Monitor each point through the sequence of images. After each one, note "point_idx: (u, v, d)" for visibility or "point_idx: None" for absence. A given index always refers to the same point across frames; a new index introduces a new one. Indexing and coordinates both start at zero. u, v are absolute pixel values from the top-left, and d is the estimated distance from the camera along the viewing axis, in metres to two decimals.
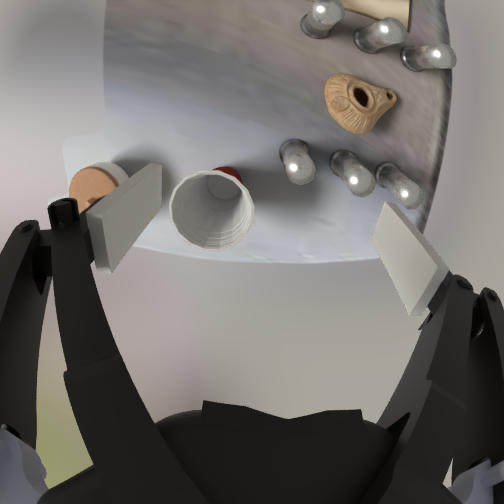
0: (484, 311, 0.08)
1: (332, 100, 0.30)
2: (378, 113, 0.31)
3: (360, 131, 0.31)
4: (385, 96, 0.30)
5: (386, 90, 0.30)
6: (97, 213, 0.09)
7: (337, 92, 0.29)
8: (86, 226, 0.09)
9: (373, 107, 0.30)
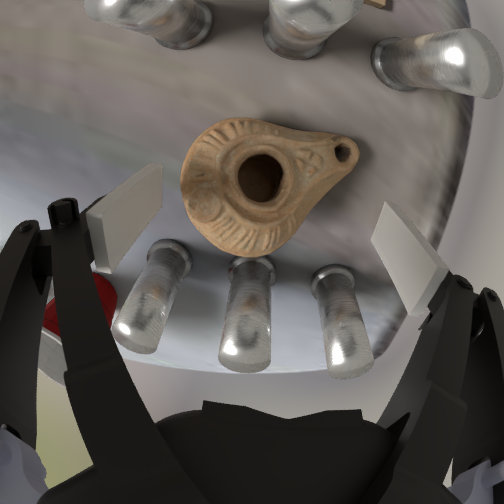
0: (484, 311, 0.08)
1: (191, 196, 0.16)
2: (308, 202, 0.17)
3: (259, 253, 0.17)
4: (329, 158, 0.16)
5: (334, 142, 0.16)
6: (97, 213, 0.09)
7: (198, 179, 0.15)
8: (86, 226, 0.09)
9: (290, 196, 0.16)
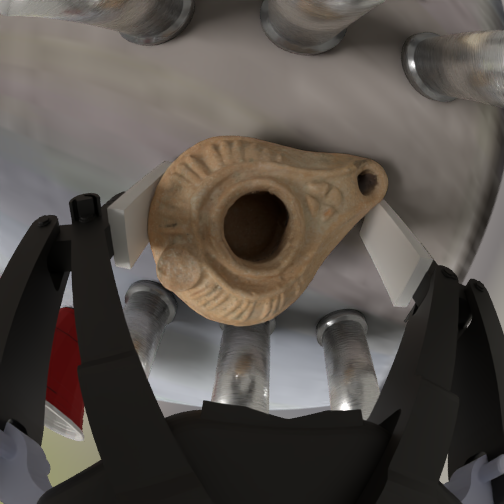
0: (469, 302, 0.08)
1: (162, 252, 0.12)
2: (321, 254, 0.13)
3: (256, 321, 0.13)
4: (352, 192, 0.12)
5: (358, 169, 0.12)
6: (119, 208, 0.09)
7: (169, 230, 0.11)
8: (106, 222, 0.09)
9: (299, 252, 0.12)
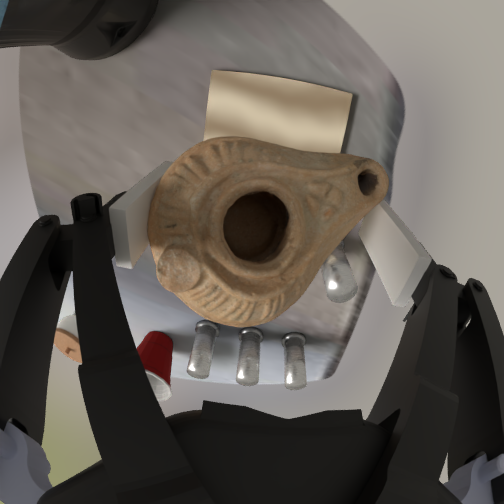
0: (468, 301, 0.08)
1: (163, 252, 0.12)
2: (322, 254, 0.13)
3: (256, 322, 0.13)
4: (352, 192, 0.12)
5: (358, 168, 0.12)
6: (121, 208, 0.09)
7: (169, 231, 0.11)
8: (108, 221, 0.09)
9: (299, 252, 0.12)
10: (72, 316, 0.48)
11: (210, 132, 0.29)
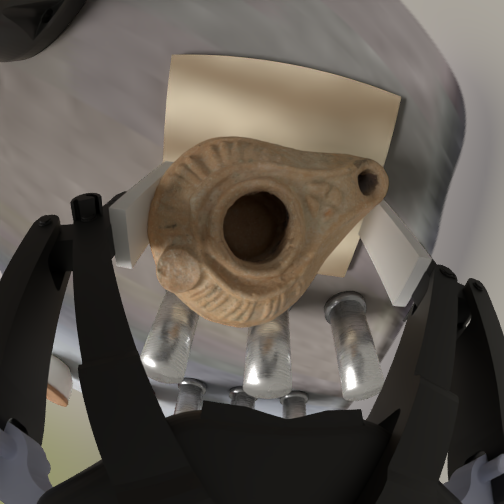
0: (468, 301, 0.08)
1: (162, 253, 0.12)
2: (322, 255, 0.13)
3: (256, 322, 0.13)
4: (352, 192, 0.12)
5: (358, 168, 0.12)
6: (120, 208, 0.09)
7: (169, 232, 0.11)
8: (108, 221, 0.09)
9: (299, 252, 0.11)
10: None
11: (172, 156, 0.18)
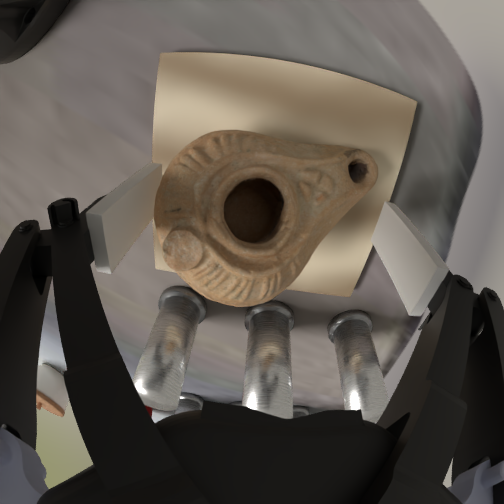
0: (484, 311, 0.08)
1: None
2: (316, 237, 0.14)
3: (255, 302, 0.14)
4: (343, 180, 0.13)
5: (348, 158, 0.13)
6: (97, 213, 0.09)
7: (174, 215, 0.12)
8: (86, 226, 0.09)
9: (294, 233, 0.12)
10: (40, 368, 0.35)
11: None
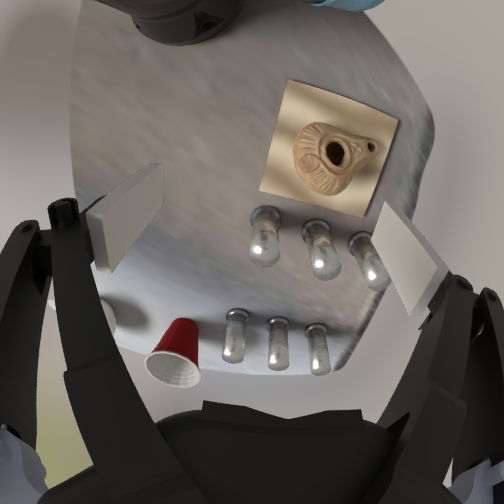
0: (484, 311, 0.08)
1: (300, 158, 0.29)
2: (355, 170, 0.31)
3: (331, 193, 0.31)
4: (365, 149, 0.30)
5: (368, 141, 0.30)
6: (97, 213, 0.09)
7: (306, 149, 0.28)
8: (86, 226, 0.09)
9: (348, 164, 0.29)
10: None
11: (279, 134, 0.33)
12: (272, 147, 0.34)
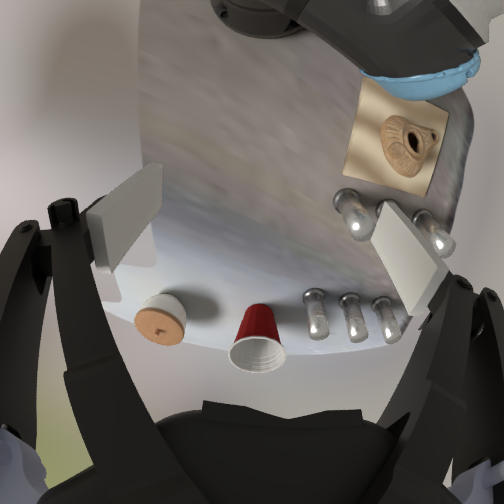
0: (484, 311, 0.08)
1: (388, 146, 0.31)
2: (425, 156, 0.32)
3: (411, 175, 0.32)
4: (431, 138, 0.31)
5: (431, 131, 0.31)
6: (97, 213, 0.09)
7: (393, 138, 0.30)
8: (86, 226, 0.09)
9: (422, 151, 0.30)
10: (162, 295, 0.53)
11: (360, 124, 0.34)
12: (354, 136, 0.35)
